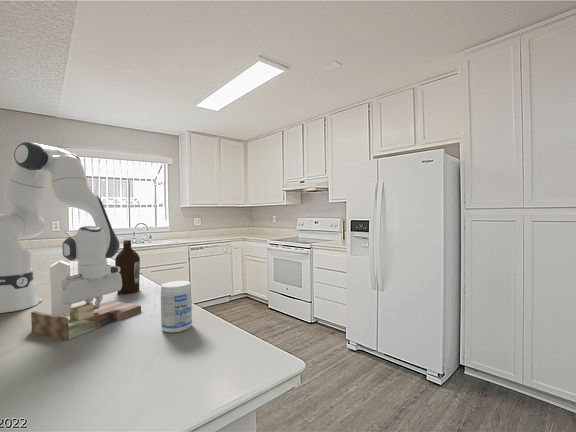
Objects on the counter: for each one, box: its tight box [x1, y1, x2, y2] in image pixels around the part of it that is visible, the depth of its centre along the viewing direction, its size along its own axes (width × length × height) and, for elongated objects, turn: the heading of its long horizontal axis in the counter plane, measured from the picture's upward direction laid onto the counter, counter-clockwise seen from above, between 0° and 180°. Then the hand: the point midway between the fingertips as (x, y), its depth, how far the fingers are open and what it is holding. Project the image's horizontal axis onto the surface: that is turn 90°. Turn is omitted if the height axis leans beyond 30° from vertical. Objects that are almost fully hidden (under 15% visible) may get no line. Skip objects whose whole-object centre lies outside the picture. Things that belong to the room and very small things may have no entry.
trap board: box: [30, 300, 142, 341], centre depth 107 cm, size 18×27×6 cm, turn 156°
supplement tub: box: [160, 280, 193, 334], centre depth 99 cm, size 10×10×15 cm
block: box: [69, 302, 95, 321], centre depth 104 cm, size 5×5×4 cm
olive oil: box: [114, 239, 141, 295], centre depth 145 cm, size 11×11×25 cm
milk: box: [49, 259, 72, 316], centre depth 114 cm, size 6×6×22 cm
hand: (94, 309), depth 108 cm, fingers closed
